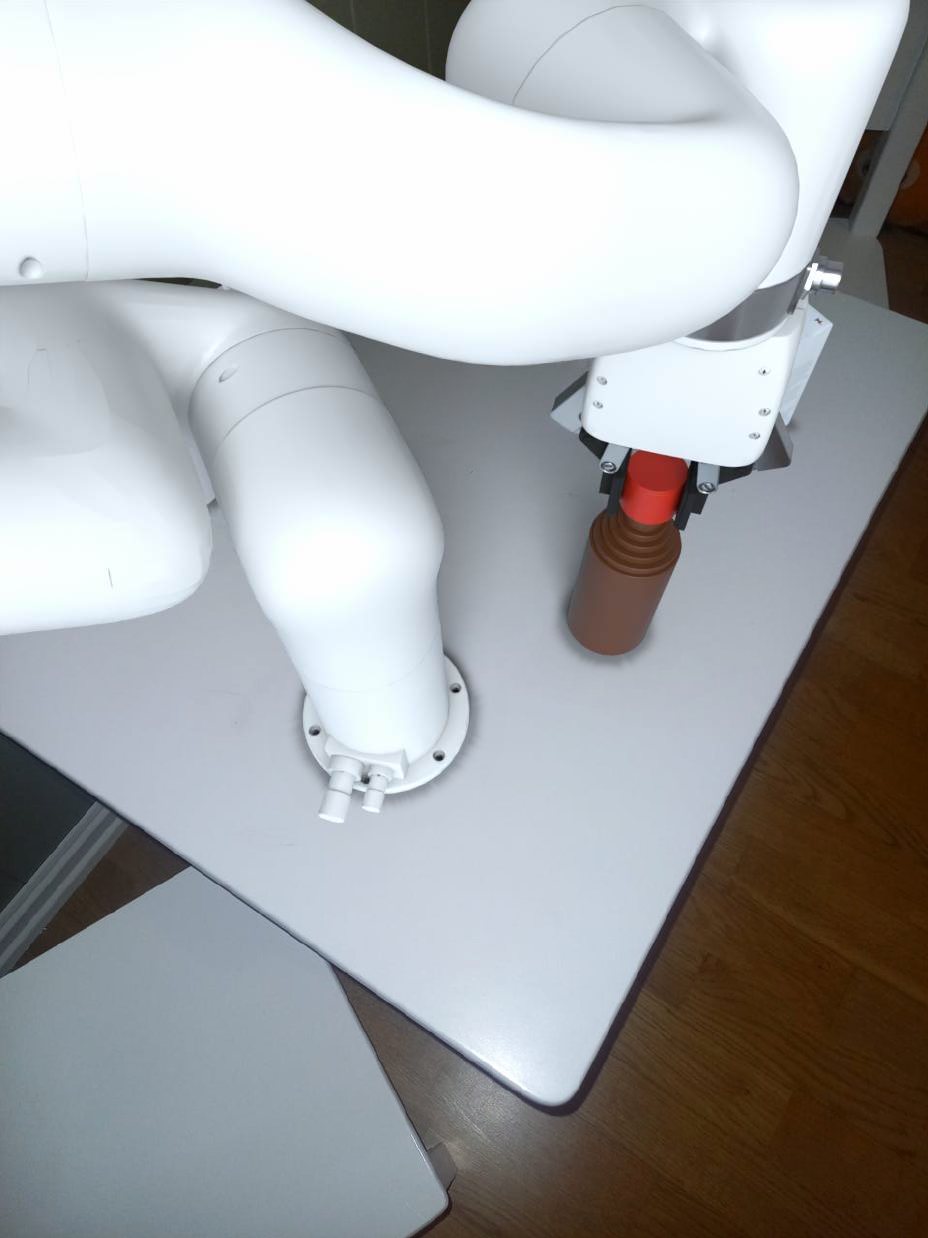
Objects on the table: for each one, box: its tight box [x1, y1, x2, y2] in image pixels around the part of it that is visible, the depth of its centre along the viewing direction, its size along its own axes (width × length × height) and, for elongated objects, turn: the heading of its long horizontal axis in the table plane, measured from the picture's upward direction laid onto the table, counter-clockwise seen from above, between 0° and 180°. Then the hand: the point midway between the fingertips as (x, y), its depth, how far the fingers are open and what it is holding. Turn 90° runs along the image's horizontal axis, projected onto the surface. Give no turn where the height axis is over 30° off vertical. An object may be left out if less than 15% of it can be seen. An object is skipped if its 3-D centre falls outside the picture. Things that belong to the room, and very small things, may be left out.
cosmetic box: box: [779, 303, 834, 427], centre depth 72 cm, size 6×4×12 cm
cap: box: [620, 449, 689, 525], centre depth 54 cm, size 4×4×3 cm
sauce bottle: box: [567, 502, 683, 656], centre depth 61 cm, size 6×6×16 cm
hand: (648, 502), depth 54 cm, fingers closed on cap, 3 cm apart
